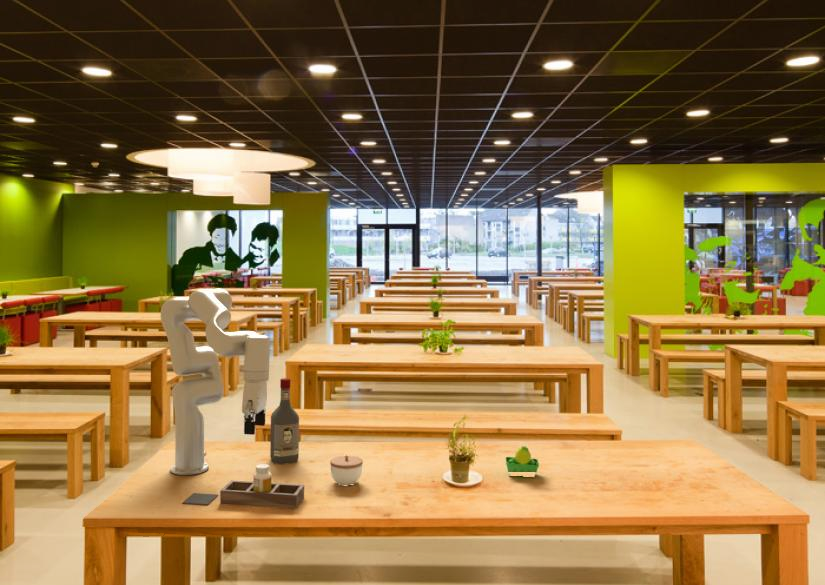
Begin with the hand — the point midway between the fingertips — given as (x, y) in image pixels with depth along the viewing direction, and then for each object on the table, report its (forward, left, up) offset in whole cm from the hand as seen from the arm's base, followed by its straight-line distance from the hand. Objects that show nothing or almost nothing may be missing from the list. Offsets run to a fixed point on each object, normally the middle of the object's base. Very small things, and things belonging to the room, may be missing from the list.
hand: (254, 429), depth 209 cm
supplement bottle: (+2, +3, -20) cm, 21 cm away
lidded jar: (-17, +26, -22) cm, 38 cm away
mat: (+5, -15, -21) cm, 27 cm away
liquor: (-37, -1, -22) cm, 43 cm away
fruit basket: (-35, +85, -22) cm, 94 cm away
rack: (+3, +4, -21) cm, 22 cm away
